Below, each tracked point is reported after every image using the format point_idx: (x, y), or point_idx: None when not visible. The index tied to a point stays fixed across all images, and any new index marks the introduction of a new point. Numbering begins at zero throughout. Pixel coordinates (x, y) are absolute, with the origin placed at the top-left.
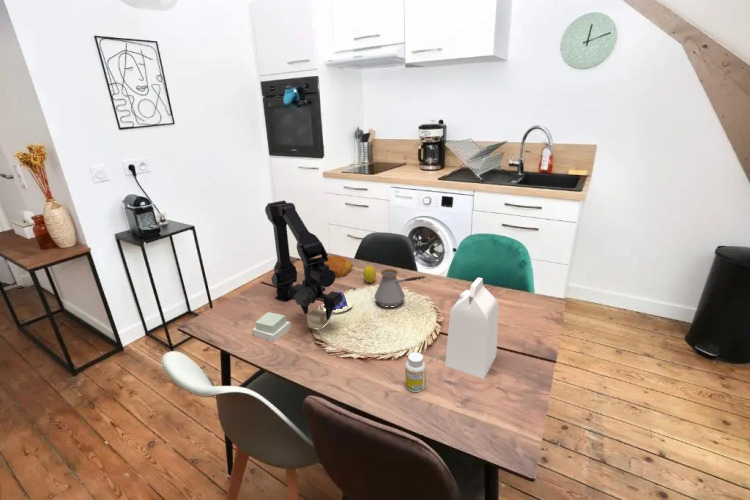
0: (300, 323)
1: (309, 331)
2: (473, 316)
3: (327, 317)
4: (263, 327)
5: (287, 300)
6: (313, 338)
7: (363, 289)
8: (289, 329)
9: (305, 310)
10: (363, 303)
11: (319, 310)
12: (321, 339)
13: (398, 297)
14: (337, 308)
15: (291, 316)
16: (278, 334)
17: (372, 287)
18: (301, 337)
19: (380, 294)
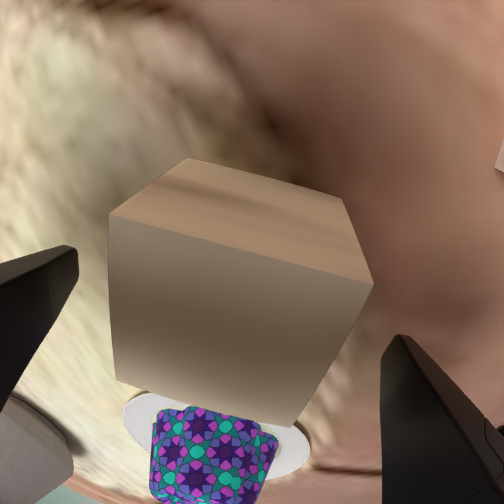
0: (432, 252)
1: (295, 119)
2: None
3: (30, 256)
4: None
5: (500, 432)
6: (196, 11)
7: None
8: (502, 144)
9: (412, 378)
10: (106, 439)
11: (212, 396)
12: (114, 25)
13: None
14: (182, 426)
15: (499, 329)
16: None
17: (147, 493)
18: (337, 2)
19: (8, 450)
